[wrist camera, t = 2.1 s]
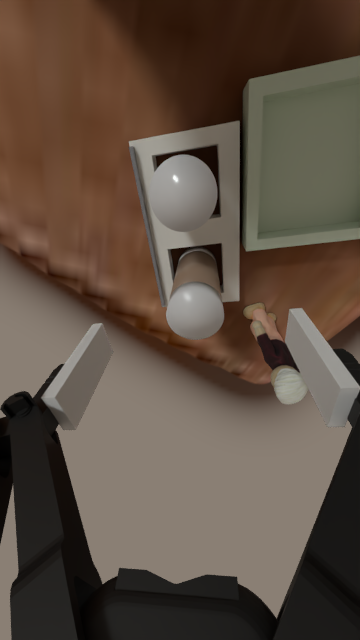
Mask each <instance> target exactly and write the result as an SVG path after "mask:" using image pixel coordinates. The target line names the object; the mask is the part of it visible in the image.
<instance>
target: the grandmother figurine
mask: <svg viewBox="0 0 360 640" xmlns="http://www.w3.org/2000/svg"><path fill="white" fill-rule="evenodd" d="M243 314H244V316H245V317H246V318H248V319H253V322H252V323H251V325H250V329H251V331H252V333H253V335H254V337H255V339H256V340H257V342H258V344H259V345H260V347H261V349H262V352H263V356H264V360H265V362H266V363H267V364H268V365H269V366H270V367H271V368H272V369H273V371H272V373H271V383H272V385H273V387H274V390H275V393H276V395H277V397H278V399H279V400H280V401H281V402H282V403H283V404H293V403H297V402H299V401H300V400H302V399H303V398H304V396H305V395H306V394H307V392H308V390H309V389H308V387H307V385H306V383H305V381H304V379H303V377H302V375H301V373H300V371H299V369H298V367H297V365H296V363H295V361H294V359H293V357H292V355H291V353H290V351H289V349H288V347H287V345H286V343H284V341H283V339H282V337H281V336H280V334H279V333H278V331H277V328H276V324H275V321H276V316H275V315H274V314H273V313H268V314H266V312H265V305H264V304H263V303H256V304H253V305H250V306H247V307H246V308H245V309H244V310H243Z"/></svg>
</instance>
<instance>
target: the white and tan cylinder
mask: <svg viewBox="0 0 360 640" xmlns="http://www.w3.org/2000/svg"><path fill="white" fill-rule="evenodd" d="M166 318H167V322H168V324H169V326H170V328H171V329H172V330H173V331H174V332H175V333H176V334H178V335H180V336H182V337H184V338H187V339H193V340H198V339H204V338H207V337H210V336H212V335H213V334H215V333H216V332H217V331H218V330H219V329H220V327H221V326H222V324H223V321H224V310H223V303H222V296H221V290H220V283H219V277H218V270H217V263H216V259H215V256H214V255H213V253H212V252H211V251H210V250H208V249H207V248H204V247H201V246H195V247H191V248H189V249H187V250H185V251H184V252H183V253H182V255H181V256H180V259H179V262H178V266H177V270H176V274H175V278H174V283H173V287H172V291H171V295H170V299H169V303H168V307H167V312H166Z"/></svg>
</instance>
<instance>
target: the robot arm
mask: <svg viewBox="0 0 360 640" xmlns="http://www.w3.org/2000/svg"><path fill="white" fill-rule="evenodd" d="M285 343H286V345H287V347H288V349H289V351H290V353H291V355H292V357H293V359H294V361H295V363H296V365H297V367H298V369H299V371H300V373H301V375H302V377H303V379H304V381H305V383H306V385H307V387H308V389H309V391H310V393H311V395H312V397H313V399H314V401H315V403H316V405H317V407H318V409H319V411H320V413H321V415H322V417H323V419H324V421H325V423H326V425H327V427H345V424H346V422H347V420H348V421H349V422H350V424H351V426H352V430H351V432H350V434H349V437H348V439H347V442H346V445H345V447H344V450H343V453H342V455H341V458H340V460H339V463H338V465H337V468H336V470H335V473H334V475H333V478H332V481H331V483H330V486H329V488H328V491H327V493H326V496H325V499H324V501H323V504H322V506H321V508H320V511H319V514H318V516H317V519H316V521H315V524H314V526H313V529H312V531H311V534H310V537H309V539H308V542H307V544H306V547H305V549H304V552H303V554H302V557H301V560H300V562H299V564H298V567H297V570H296V572H295V575H294V577H293V579H292V582H291V584H290V587H289V589H288V591H287V594H286V596H285V599H284V602H283V604H282V607H281V609H280V612H279V614H278V617H277V619H276V617H275V616H274V614H273V613H272V612H271V610H270V609H269V608H268V607H267V606H266V604H265V603H264V602H263V601H262V600H261V599H260V598H259V597H258V596H257V595H255V594H254V593H253V592H251V591H250V590H249V589H247V588H246V587H244V586H242V585H240V584H238V582H237V577H231V576H218V575H217V576H216V575H204V576H201V577H198V578H194V579H191V580H188V581H185V582H182V583H179V584H173V583H171V582H169V581H167V580H165V579H163V578H161V577H159V576H157V575H155V574H153V573H151V572H149V571H147V570H139V569H126V568H119V572H118V576H116V577H115V578H112V579H110V580H108V581H107V582H105V583H104V584H102V581H101V578H100V576H99V573H98V571H97V569H96V568H95V565H94V564H93V561H92V558H91V555H90V551H89V547H88V543H87V539H86V536H85V532H84V529H83V525H82V521H81V518H80V514H79V510H78V506H77V502H76V499H75V495H74V492H73V488H72V484H71V480H70V477H69V473H68V469H67V466H66V462H65V458H64V455H63V451H62V447H61V444H60V440H59V437H58V433H57V431H56V428H57V426H58V424H59V425H60V426H61V427H62V429H63V430H76V428H77V426H78V424H79V422H80V420H81V418H82V416H83V414H84V412H85V410H86V407H87V405H88V403H89V401H90V399H91V397H92V395H93V393H94V391H95V389H96V387H97V385H98V382H99V380H100V378H101V376H102V374H103V372H104V370H105V368H106V366H107V364H108V362H109V360H110V358H111V356H112V354H113V350H112V347H111V345H110V342H109V339H108V337H107V334H106V331H105V329H104V326H103V324H93V325H92V326H91V327H90V329H89V330H88V332H87V333H86V335H85V336H84V338H83V339H82V340H81V342H80V343H79V344H78V346H77V347H76V349H75V350H74V352H73V353H72V355H71V356H70V357H69V359H68V360H67V362H66V363H65V364H61V365H59V366H58V367H57V368H56V369H55V370H53V372H52V373H51V375H50V376H49V378H48V379H47V380H46V381H45V383H44V384H43V385H42V387H41V388H40V389H39V391H38V392H37V394H36V395H35V396H34V398H32V397H31V395H30V394H29V393H28V392H25V391H24V392H19V393H16V394H14V395H12V396H10V397H9V398H8V399H7V400H5V401H4V403H3V404H2V405H1V409H0V410H2V412H3V413H4V414H5V415H6V417H3V418H0V543H1V538H2V533H3V528H4V524H5V519H6V514H7V509H8V505H9V499H10V495H11V490H12V485H13V486H14V503H15V519H16V535H17V548H18V549H17V551H18V567H19V573H18V577H17V578H16V579H15V581H14V582H13V583H12V587H11V593H10V594H11V595H10V607H11V635H12V640H360V364H359V363H358V361H357V360H356V359H355V358H354V357H353V355H352V354H350V353H349V352H347V351H346V350H344V349H332V348H331V347H330V346H329V344H328V343H327V342H326V340H325V339H324V337H323V336H322V335H321V333H320V332H319V331H318V329H317V328H316V327H315V325H314V324H313V323H312V321H311V320H310V319H309V317H308V316H307V314H306V313H305V312H304V310H303V309H302V308H296V309H289V316H288V324H287V331H286V338H285Z"/></svg>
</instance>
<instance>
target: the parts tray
mask: <svg viewBox="0 0 360 640" xmlns="http://www.w3.org/2000/svg"><path fill="white" fill-rule="evenodd" d="M354 239H360V56H355V57H351V58H346V59H341V60H337V61H332V62H327V63H323V64H318V65H313V66H308V67H304V68H299V69H294V70H290V71H285V72H280V73H276V74H271V75H266V76H261V77H257V78H252V79H249V80H248V82H247V84H246V86H245V88H244V90H243V132H242V245H243V246H244V248H245V250H246V251H255V250H264V249H273V248H282V247H291V246H300V245H309V244H318V243H327V242H336V241H345V240H354Z"/></svg>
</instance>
